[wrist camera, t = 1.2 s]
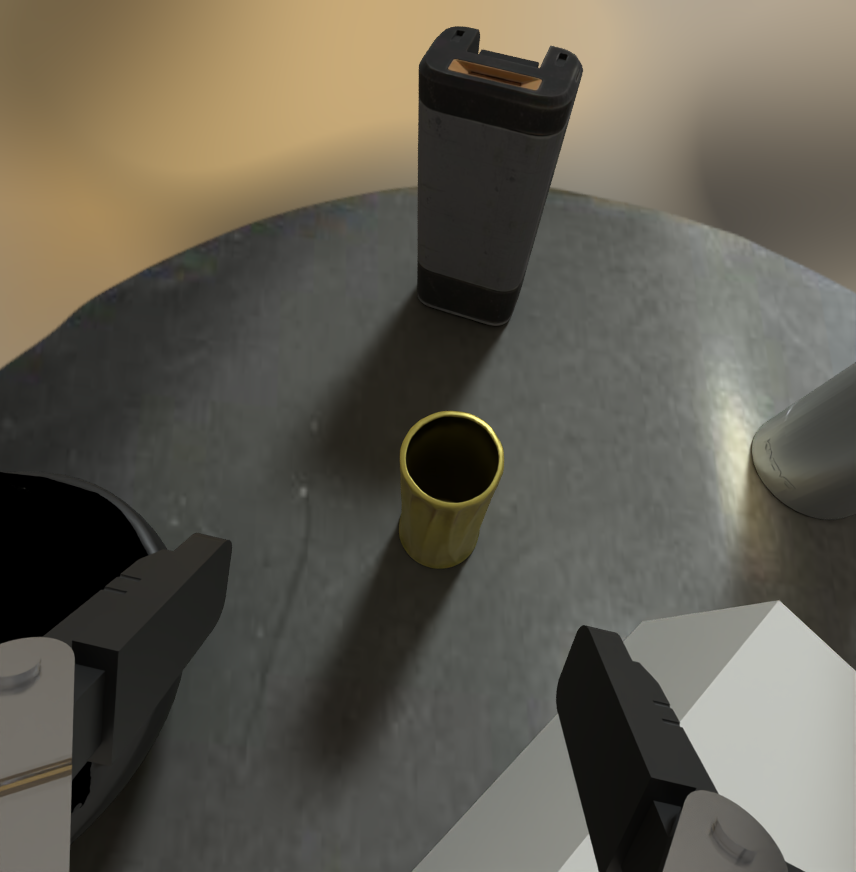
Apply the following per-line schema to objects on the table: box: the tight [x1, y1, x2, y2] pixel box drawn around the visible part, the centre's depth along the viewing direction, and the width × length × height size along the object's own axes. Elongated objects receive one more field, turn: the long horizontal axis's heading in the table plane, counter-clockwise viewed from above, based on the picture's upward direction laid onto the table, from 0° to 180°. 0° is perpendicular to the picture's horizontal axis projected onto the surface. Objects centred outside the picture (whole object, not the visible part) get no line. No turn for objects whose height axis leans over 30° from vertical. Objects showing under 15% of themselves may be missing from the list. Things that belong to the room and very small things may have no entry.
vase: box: [399, 411, 504, 569], centre depth 30 cm, size 6×6×14 cm
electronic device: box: [417, 27, 583, 326], centre depth 37 cm, size 9×6×20 cm, turn 70°
